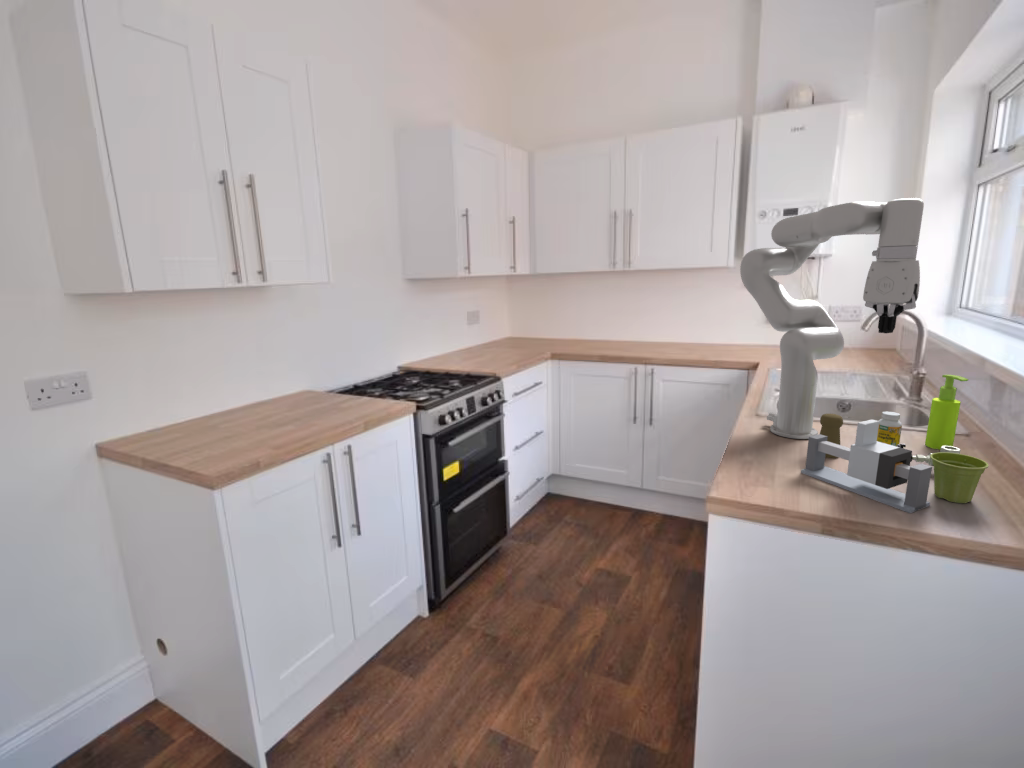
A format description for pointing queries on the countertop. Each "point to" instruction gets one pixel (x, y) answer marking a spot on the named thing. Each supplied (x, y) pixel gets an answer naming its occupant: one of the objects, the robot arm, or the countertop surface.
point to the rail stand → (906, 502)
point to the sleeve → (866, 452)
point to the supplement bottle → (889, 428)
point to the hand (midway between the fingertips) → (885, 332)
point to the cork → (831, 429)
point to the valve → (927, 459)
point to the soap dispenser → (944, 415)
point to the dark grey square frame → (891, 467)
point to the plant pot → (956, 475)
